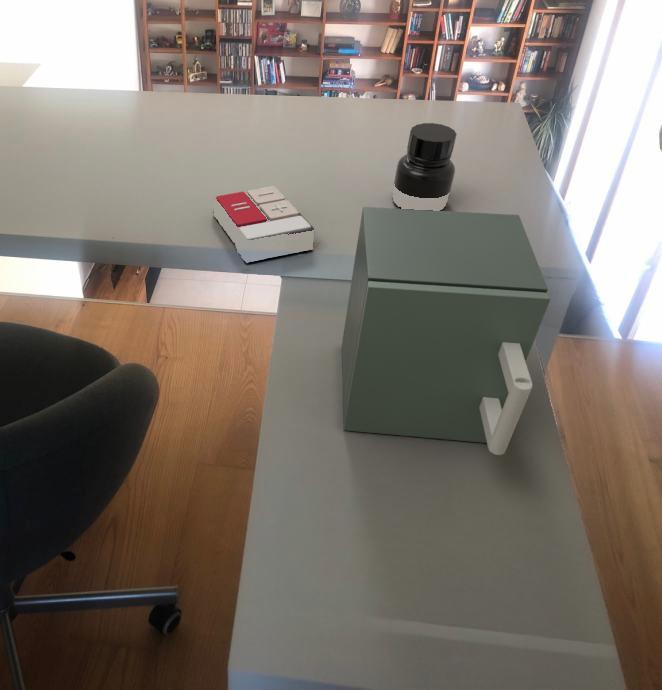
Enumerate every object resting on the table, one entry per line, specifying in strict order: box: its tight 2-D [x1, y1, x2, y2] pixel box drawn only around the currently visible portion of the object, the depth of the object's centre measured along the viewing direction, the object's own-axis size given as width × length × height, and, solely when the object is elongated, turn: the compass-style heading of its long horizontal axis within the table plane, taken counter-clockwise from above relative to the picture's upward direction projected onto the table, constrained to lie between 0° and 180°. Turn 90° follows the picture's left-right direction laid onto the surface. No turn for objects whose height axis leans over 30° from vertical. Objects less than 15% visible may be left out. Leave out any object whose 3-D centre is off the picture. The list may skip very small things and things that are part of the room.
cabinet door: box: [342, 281, 551, 456], centre depth 67 cm, size 7×16×20 cm, turn 82°
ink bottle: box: [393, 122, 457, 198], centre depth 109 cm, size 10×9×12 cm
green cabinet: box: [341, 206, 549, 423], centre depth 75 cm, size 13×16×20 cm
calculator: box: [215, 185, 315, 240], centre depth 106 cm, size 11×4×15 cm
